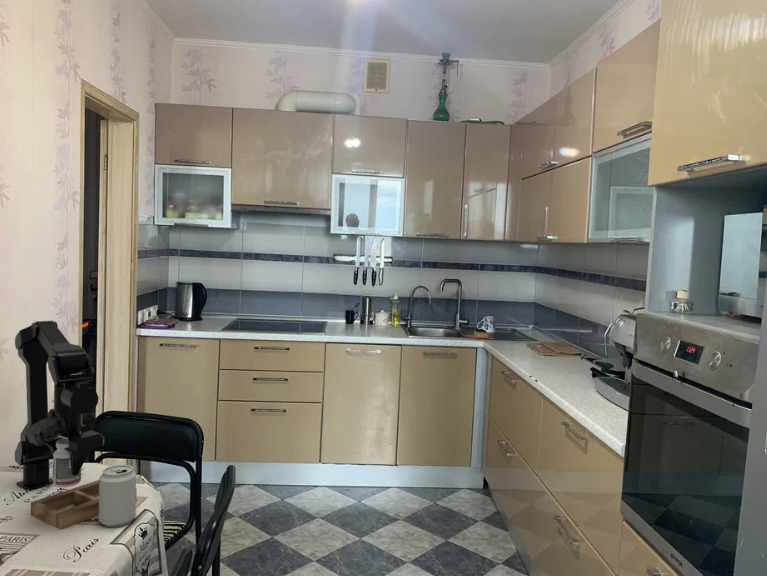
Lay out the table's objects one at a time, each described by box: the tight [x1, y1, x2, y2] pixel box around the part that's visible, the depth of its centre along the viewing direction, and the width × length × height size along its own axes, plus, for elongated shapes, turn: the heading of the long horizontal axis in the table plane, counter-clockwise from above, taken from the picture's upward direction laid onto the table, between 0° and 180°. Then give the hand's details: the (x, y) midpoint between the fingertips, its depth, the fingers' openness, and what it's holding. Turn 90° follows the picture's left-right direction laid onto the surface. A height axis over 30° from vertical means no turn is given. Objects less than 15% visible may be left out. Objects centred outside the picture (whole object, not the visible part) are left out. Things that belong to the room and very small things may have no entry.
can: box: [98, 464, 137, 528], centre depth 129 cm, size 8×8×12 cm
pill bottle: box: [52, 438, 82, 488], centre depth 131 cm, size 6×6×10 cm
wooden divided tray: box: [30, 479, 138, 530], centre depth 135 cm, size 12×18×3 cm, turn 149°
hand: (67, 471), depth 131 cm, fingers closed on pill bottle, 6 cm apart
